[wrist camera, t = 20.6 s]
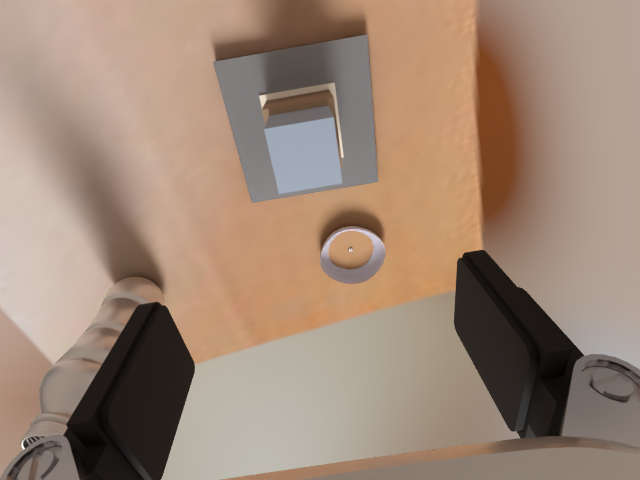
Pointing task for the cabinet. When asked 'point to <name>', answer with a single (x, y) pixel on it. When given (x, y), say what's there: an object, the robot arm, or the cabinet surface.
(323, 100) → the walnut block
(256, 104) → the building board
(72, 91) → the cabinet surface
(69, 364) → the plastic bottle
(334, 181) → the slate blue cube
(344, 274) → the lavender ring
